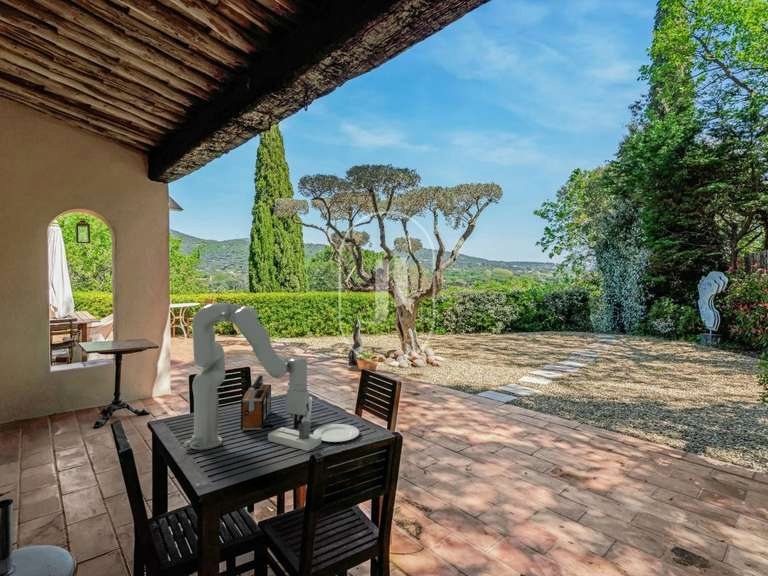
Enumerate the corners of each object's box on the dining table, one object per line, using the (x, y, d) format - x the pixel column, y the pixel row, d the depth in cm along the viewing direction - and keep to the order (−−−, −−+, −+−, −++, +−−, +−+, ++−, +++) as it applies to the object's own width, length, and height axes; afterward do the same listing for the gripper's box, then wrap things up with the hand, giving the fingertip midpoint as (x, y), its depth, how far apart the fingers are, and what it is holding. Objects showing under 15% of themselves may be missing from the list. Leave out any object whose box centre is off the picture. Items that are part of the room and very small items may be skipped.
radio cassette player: (262, 432, 185) (263, 389, 185) (239, 433, 184) (239, 389, 183) (271, 411, 214) (271, 373, 214) (251, 411, 213) (251, 374, 212)
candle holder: (313, 425, 195) (314, 400, 195) (293, 427, 191) (293, 402, 191) (309, 418, 204) (310, 394, 204) (290, 420, 201) (290, 396, 200)
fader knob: (303, 439, 169) (303, 425, 169) (297, 438, 171) (298, 424, 170) (310, 435, 174) (311, 422, 173) (305, 434, 175) (305, 420, 175)
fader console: (308, 451, 166) (308, 443, 165) (267, 440, 176) (268, 433, 175) (321, 443, 174) (321, 436, 173) (281, 433, 184) (282, 426, 183)
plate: (325, 449, 168) (325, 445, 168) (305, 433, 185) (305, 429, 185) (368, 439, 180) (368, 434, 180) (345, 424, 197) (345, 420, 197)
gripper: (278, 386, 173) (278, 428, 174) (306, 391, 167) (306, 434, 167) (290, 382, 180) (289, 422, 180) (317, 386, 173) (317, 429, 174)
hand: (297, 428), depth 174 cm, fingers closed
